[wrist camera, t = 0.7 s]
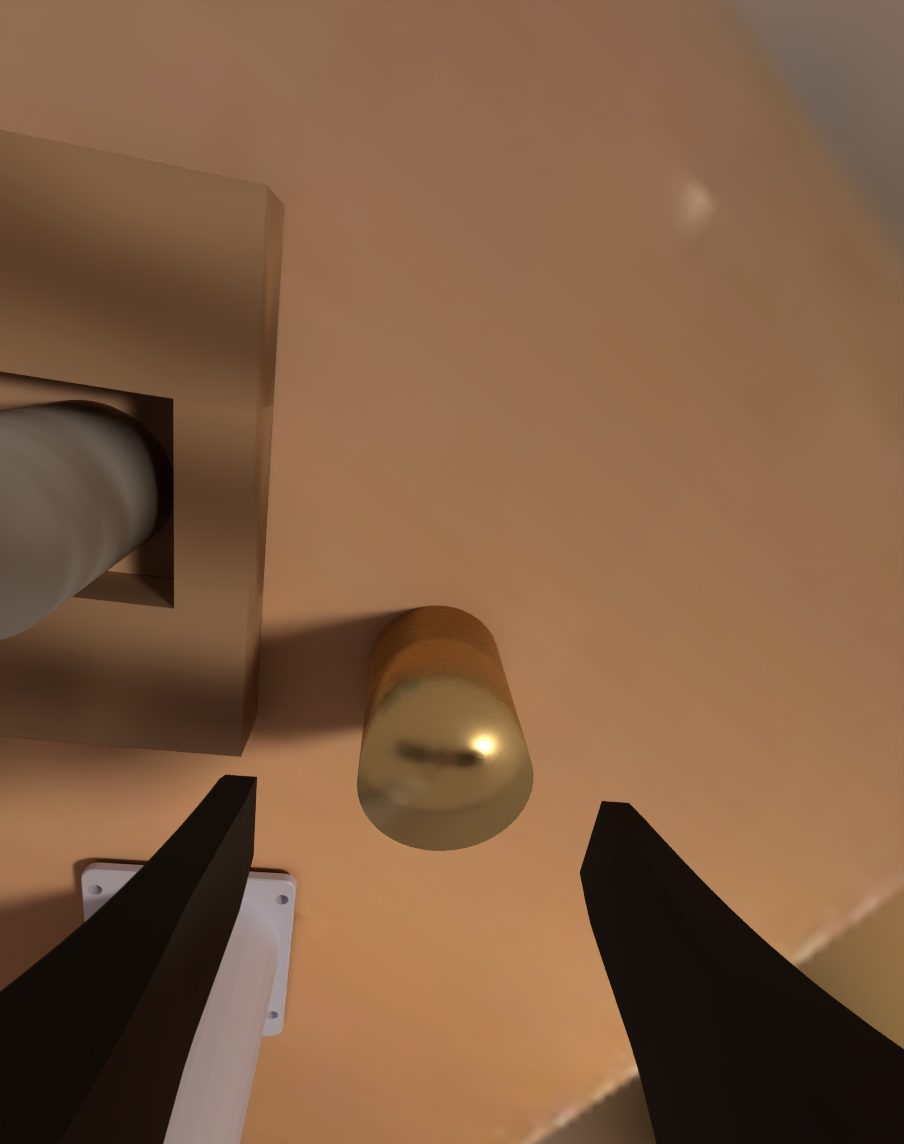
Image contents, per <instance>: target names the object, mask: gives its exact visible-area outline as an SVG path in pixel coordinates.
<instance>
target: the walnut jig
mask: <svg viewBox="0 0 904 1144" xmlns="http://www.w3.org/2000/svg"><path fill="white" fill-rule="evenodd" d="M283 216H284V204H283V203H282V202H281V201H280V200H279V199H278V198H277V196H276V195H275V194H274V193H273V192H272V191H271V190H270V188H269V187H268V186H267V185H263V184H258V183H254V182H249V181H244V180H239V179H234V178H229V177H225V176H220V175H215V174H210V173H205V172H200V171H196V170H191V169H186V168H181V167H176V166H171V165H167V164H162V163H157V162H152V161H147V160H142V159H138V158H133V157H128V156H123V155H118V154H113V153H109V152H104V151H99V150H94V149H89V148H84V147H80V146H75V145H70V144H65V143H60V142H55V141H51V140H46V139H41V138H36V137H31V136H26V135H22V134H17V133H12V132H7V131H2V130H0V371H1V372H7V373H14V374H20V375H26V376H33V377H39V378H45V379H52V380H58V381H64V382H71V383H77V384H83V385H90V386H96V387H102V388H109V389H115V390H121V391H128V392H134V393H140V394H147V395H153V396H159V397H166V398H172V399H173V436H174V479H173V474H172V470H171V467H170V464H169V461H168V459H167V457H166V455H165V453H164V451H163V449H162V448H161V446H160V445H159V443H158V442H157V440H156V439H155V438H154V437H153V436H152V434H151V433H150V432H149V431H148V430H147V429H146V428H145V427H144V426H143V425H141V424H140V423H139V422H138V421H136V420H135V419H134V418H132V417H131V416H129V415H127V414H126V413H124V412H122V411H120V410H118V409H116V408H114V407H111V406H108V405H106V404H103V403H98V402H94V401H87V400H68V401H62V402H56V403H50V404H43V405H37V406H31V407H25V408H19V409H12V410H6V411H0V736H1V737H13V738H25V739H37V740H48V741H60V742H72V743H84V744H96V745H108V746H120V747H132V748H144V749H155V750H167V751H179V752H191V753H203V754H215V755H227V756H239V757H241V755H242V753H243V750H244V748H245V745H246V743H247V740H248V738H249V735H250V733H251V730H252V728H253V726H254V723H255V721H256V709H257V691H258V672H259V654H260V636H261V618H262V599H263V581H264V563H265V545H266V526H267V508H268V490H269V472H270V453H271V435H272V417H273V399H274V381H275V362H276V344H277V326H278V308H279V289H280V271H281V253H282V235H283ZM173 500H174V579H166V578H157V577H149V576H141V575H133V574H124V573H116V572H108V571H107V570H108V569H110V568H111V567H112V566H114V565H115V564H116V563H118V562H119V561H120V560H122V559H123V558H124V557H126V556H127V555H128V554H130V553H131V552H133V551H134V550H135V549H137V548H138V547H139V546H141V545H142V544H143V543H145V542H146V541H147V540H149V539H150V538H151V537H152V536H154V535H155V534H156V533H157V532H158V531H159V530H160V529H161V527H162V526H163V525H164V524H165V522H166V520H167V518H168V517H169V514H170V511H171V509H172V505H173Z"/></svg>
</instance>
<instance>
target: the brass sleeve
mask: <svg viewBox="0 0 904 1144" xmlns="http://www.w3.org/2000/svg"><path fill="white" fill-rule="evenodd" d="M532 785H533V767H532V762H531V759H530V755H529V752H528V749H527V745H526V742H525V739H524V735H523V732H522V729H521V725H520V722H519V719H518V715H517V712H516V709H515V705H514V702H513V699H512V695H511V692H510V689H509V685H508V682H507V679H506V675H505V672H504V669H503V665H502V662H501V659H500V655H499V652H498V649H497V645H496V642H495V640H494V638H493V636H492V634H491V633H490V631H489V630H488V628H487V627H486V626H485V625H484V624H483V623H482V622H481V621H480V620H478V619H477V618H476V617H474V616H473V615H471V614H469V613H467V612H465V611H463V610H460V609H457V608H453V607H448V606H426V607H420V608H417V609H413V610H410V611H408V612H406V613H404V614H402V615H400V616H399V617H397V618H396V619H394V620H393V621H392V622H390V623H389V624H388V625H387V626H386V627H385V628H384V630H383V631H382V632H381V634H380V635H379V637H378V639H377V640H376V642H375V645H374V648H373V651H372V656H371V663H370V672H369V681H368V690H367V698H366V707H365V716H364V725H363V734H362V742H361V751H360V760H359V769H358V779H357V790H358V797H359V800H360V803H361V806H362V808H363V810H364V812H365V814H366V815H367V817H368V818H369V820H370V821H371V822H372V823H373V824H374V825H375V827H376V828H378V829H379V830H380V831H381V832H382V833H384V834H385V835H387V836H388V837H390V838H391V839H393V840H395V841H397V842H399V843H402V844H404V845H407V846H410V847H414V848H418V849H424V850H432V851H446V850H456V849H462V848H466V847H470V846H473V845H477V844H479V843H482V842H484V841H486V840H488V839H490V838H492V837H494V836H496V835H497V834H499V833H500V832H502V831H503V830H504V829H506V828H507V827H508V826H509V825H510V824H511V823H512V822H513V821H514V820H515V819H516V818H517V817H518V816H519V814H520V813H521V812H522V810H523V809H524V807H525V805H526V803H527V801H528V799H529V796H530V793H531V790H532Z"/></svg>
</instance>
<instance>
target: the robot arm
mask: <svg viewBox="0 0 904 1144" xmlns="http://www.w3.org/2000/svg"><path fill="white" fill-rule="evenodd" d="M256 787H257V777H250V776H236V775H225V776H223V777H222V778H220V779H219V780H218V782H217V783H216V784H215V785H214V787H213V788H212V789H211V791H210V792H209V793H208V794H207V796H206V797H205V798H204V799H203V800H202V802H201V803H200V804H199V805H198V806H197V808H196V809H195V810H194V811H193V812H192V814H191V815H190V816H189V817H188V818H187V819H186V820H185V822H184V823H183V824H182V825H181V826H180V827H179V828H178V830H177V831H176V832H175V833H174V834H173V835H172V836H171V837H170V838H169V839H168V840H167V841H166V843H165V844H164V845H163V846H162V847H161V848H160V849H159V850H158V851H157V852H156V853H155V854H154V855H153V857H152V858H151V859H150V860H149V861H148V862H147V863H146V864H145V865H133V864H116V863H92V864H89V865H88V866H87V867H86V868H85V870H84V871H83V873H82V875H81V886H82V898H83V911H84V923H83V924H82V925H81V926H80V927H78V928H77V929H76V930H75V931H74V932H73V933H72V934H70V935H69V936H68V937H67V938H66V939H65V940H63V941H62V942H61V943H60V944H59V945H58V946H56V947H55V948H54V949H53V950H52V951H50V952H49V953H48V954H47V955H45V956H44V957H43V958H42V959H40V960H39V961H38V962H37V963H35V964H34V965H33V966H32V967H30V968H29V969H28V970H27V971H25V972H24V973H23V974H22V975H20V976H19V977H18V978H17V979H15V980H14V981H13V982H12V983H10V984H9V985H8V986H7V987H5V988H4V989H3V990H1V991H0V1144H240V1140H241V1135H242V1130H243V1125H244V1120H245V1116H246V1111H247V1106H248V1101H249V1097H250V1092H251V1087H252V1082H253V1078H254V1073H255V1068H256V1063H257V1058H258V1054H259V1049H260V1044H261V1039H262V1036H275V1035H278V1034H279V1033H280V1032H281V1031H282V1029H283V1023H284V1014H285V1003H286V993H287V983H288V972H289V962H290V951H291V941H292V931H293V920H294V910H295V899H296V889H297V881H296V879H295V878H294V877H293V876H291V875H290V874H283V873H267V872H250V867H251V863H252V859H253V855H254V833H255V810H256ZM580 876H581V881H582V886H583V891H584V897H585V902H586V906H587V910H588V915H589V919H590V924H591V927H592V930H593V933H594V936H595V939H596V942H597V945H598V948H599V952H600V955H601V958H602V961H603V964H604V967H605V970H606V973H607V976H608V979H609V981H610V984H611V987H612V990H613V993H614V996H615V999H616V1002H617V1005H618V1008H619V1011H620V1014H621V1017H622V1020H623V1023H624V1026H625V1029H626V1032H627V1035H628V1038H629V1041H630V1044H631V1047H632V1050H633V1054H634V1057H635V1060H636V1064H637V1067H638V1071H639V1074H640V1078H641V1082H642V1086H643V1090H644V1094H645V1098H646V1102H647V1106H648V1110H649V1115H650V1119H651V1123H652V1127H653V1131H654V1135H655V1139H656V1144H904V1049H903V1048H901V1047H900V1046H898V1045H897V1044H896V1043H894V1042H893V1041H891V1040H890V1039H888V1038H887V1037H886V1036H884V1035H883V1034H882V1033H880V1032H879V1031H877V1030H876V1029H874V1028H873V1027H872V1026H870V1025H869V1024H868V1023H866V1022H865V1021H864V1020H862V1019H861V1018H860V1017H858V1016H857V1015H856V1014H854V1013H853V1012H852V1011H850V1010H849V1009H847V1008H846V1007H845V1006H844V1005H842V1004H841V1003H840V1002H838V1001H837V1000H836V999H834V998H833V997H832V996H830V995H829V994H828V993H827V992H825V991H824V990H823V989H822V988H820V987H819V986H818V985H817V984H815V983H814V982H813V981H812V980H810V979H809V978H808V977H806V976H805V975H804V974H803V973H802V972H800V970H798V969H797V968H796V967H795V966H794V965H792V964H791V963H790V962H789V961H788V960H787V959H785V958H784V957H783V956H782V955H781V954H779V953H778V952H777V951H776V950H775V949H774V948H772V947H771V946H770V945H769V944H768V943H767V942H766V941H765V940H763V939H762V938H761V937H760V936H759V935H758V934H757V933H756V932H755V931H754V930H752V929H751V928H750V927H749V926H748V925H747V924H746V923H745V922H744V921H743V920H742V919H741V918H740V917H739V916H738V915H737V914H736V913H735V912H733V911H732V910H731V909H730V908H729V907H728V906H727V905H726V904H725V903H724V902H723V901H722V900H721V899H720V898H719V897H718V896H717V895H716V894H715V893H714V892H713V891H712V890H711V889H710V888H709V887H708V886H707V885H706V884H705V883H704V882H703V881H702V880H701V879H700V878H699V877H698V876H697V875H696V874H695V873H694V871H693V870H692V869H691V868H690V867H689V866H688V865H687V864H686V863H685V862H684V861H683V860H682V859H681V858H680V857H679V856H678V855H677V854H676V852H675V851H674V850H673V849H672V848H671V847H670V846H669V845H668V844H667V843H666V842H665V841H664V840H663V839H662V837H661V836H660V835H659V834H658V833H657V832H656V831H655V830H654V829H653V828H652V827H651V826H650V825H649V823H648V822H647V821H646V820H645V819H644V818H643V817H642V816H641V815H640V814H639V813H638V812H637V811H636V810H635V809H634V808H633V807H632V806H631V805H630V804H629V803H621V802H607V801H602V802H601V805H600V809H599V812H598V815H597V818H596V822H595V825H594V828H593V831H592V835H591V838H590V841H589V844H588V848H587V851H586V854H585V857H584V861H583V864H582V867H581V870H580ZM282 895H285V896H282Z"/></svg>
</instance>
